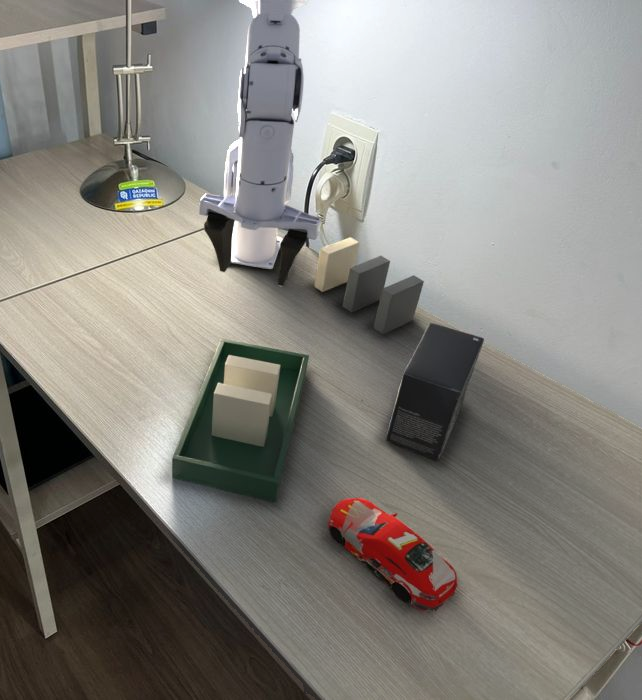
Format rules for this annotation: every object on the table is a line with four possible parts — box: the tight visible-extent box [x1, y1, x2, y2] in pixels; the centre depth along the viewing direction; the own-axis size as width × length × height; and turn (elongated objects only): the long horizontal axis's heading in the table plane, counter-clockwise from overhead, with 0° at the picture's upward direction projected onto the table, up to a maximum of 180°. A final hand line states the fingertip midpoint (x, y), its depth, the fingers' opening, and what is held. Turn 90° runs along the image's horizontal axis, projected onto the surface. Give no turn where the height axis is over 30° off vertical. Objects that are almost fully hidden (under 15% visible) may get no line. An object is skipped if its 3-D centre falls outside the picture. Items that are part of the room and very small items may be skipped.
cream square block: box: [313, 237, 360, 293], centre depth 101 cm, size 2×6×6 cm, turn 123°
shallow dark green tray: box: [171, 338, 310, 503], centre depth 80 cm, size 21×11×3 cm, turn 163°
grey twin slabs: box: [342, 255, 425, 335], centre depth 95 cm, size 8×6×6 cm
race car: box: [327, 497, 458, 612], centre depth 65 cm, size 13×5×4 cm, turn 37°
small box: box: [385, 322, 485, 461], centre depth 77 cm, size 11×6×10 cm, turn 149°
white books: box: [212, 355, 281, 447], centre depth 78 cm, size 7×6×6 cm
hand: (253, 274), depth 87 cm, fingers open, 7 cm apart
